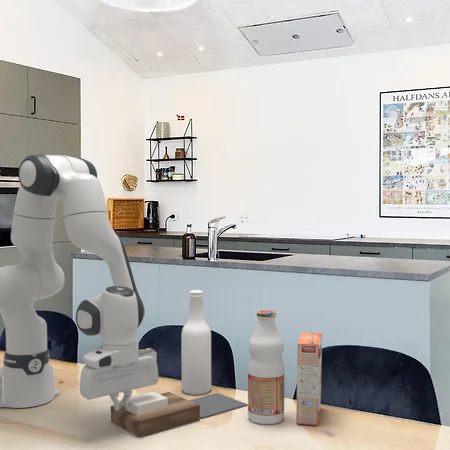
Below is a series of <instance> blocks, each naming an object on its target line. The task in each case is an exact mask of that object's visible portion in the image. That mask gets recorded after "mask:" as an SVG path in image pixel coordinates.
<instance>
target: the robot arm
mask: <svg viewBox="0 0 450 450" xmlns="http://www.w3.org/2000/svg"><path fill="white" fill-rule="evenodd" d="M18 180H19V183H20V185H19V186H18V191H17V194H16V198H15V201H14V207H13V213H12V216H13V217H12V224H11V230H10V240H11V243H12V244H13V246H15V247H16V248H17V249H18V250H19V252H20V256H21V258H20V259H21V262H20V263H16V264H11V265H10V264H7V265H4V266H0V314H1V317H2V320H3V322H4V323H3V324H4V328H5V330H4V331H5V349H6V350H5V351H4V354H3V355H4V356H3V362H2V364H3V366H1V368H0V408H15V409H17V408H19V409H21V408H22V409H23V408H31V407H37V406H41V405H45V404H47V403H49V402H51V401H52V400H53V399H54V398H55V397H56V396H58V395H59V394H60V390H59V389H58V388H56V383H55V372H54V371H55V370H54V367H53V366H52V365H51V364H49V362H50V351H49V348H48V325H47V322H46V320H45V318H43V317H41V316H40V315H38V314H37V312H36V310H35V305H34V301H39V300H43V299H44V300H45V299H48V298H51V297H52V296H54V295H57V294H58V293H59V292H61V291H62V290H63V288H64V286H65V280H66V277H65V273H64V271H63V268H62V267H61V266H60V265H59V264H58V263H57V261H56V259H55V255H54V250H53V240H54V239H53V237H54V236H53V235H54V228H55V227H54V226H55V219H56V211H57V210H56V208H57V203H58V200H60V201H61V202H62V203H61V204H62V210H63V220H64V228H65V233H66V235H67V239H68V240H69V241H70V242H71V243H72V244H73V245H74V247H77V248H78V249H80V250H82V251H84V252H88V253H90V254H93V255H95V256H98V258H101V259H102V260H103V261H104V262H105V263H106V264H107V266H108V269H109V273H110V276H111V280H112V286H108V287H106V288H104V290H103V291H102V292H101V293H100V294H98V295H95V296H93V297H89V298H86V299H83V300H82V301H81V302H80V303H79V304H78V307H77V309H76V312H75V322H76V323H75V324H76V326H77V328H78V329H79V331H80V332H81V333H83V335H86V336H87V337H89V336H90V337H96V336H101V338H102V341H101V345H100V346H98V347H97V348H95V349H93V350H91V351H89V352H87V353H86V354H84V355H83V356H82V362H83V364H84V366H83V367H82V369H81V372H80V378H79V379H80V380H79V393H80V396H82V397H83V399H86V400H93V399H98V398H102V397H107V396H109V398H110V399H111V401H112V403H113V405H114V410H116V411H119V410H123V409H127V408H128V401H129V399H130V397H132V396H133V395H132V394H133V390H139V389H142V388H146V387H147V388H148V387H151V386H155V385H157V383H158V381H159V369H158V364H157V363H158V362H157V360H158V359H157V357H158V356H157V352H156V350H155V349H153V348H152V347H148V348H145V349H143V348H142V349H139V348H140V347H139V346H140V345H139V337H138V328H139V327H140V326H141V324H142V322H143V321H144V317H145V306H144V303H143V300H142V298H141V297H140V294H139V291H138V289H137V285H136V283H135V278H134V276H133V272H132V268H131V265H130V264H131V263H130V261H129V258H128V255H127V254H128V253H127V250H126V248H125V244H124V242H123V240H122V238H121V237H120V236H119V235H118V234H117V233H116V232H115V230H114V229H113V227H112V225H111V223H110V220H109V214H108V207H107V203H106V198H105V196H104V192H103V191H104V190H103V188H102V186H101V182H100V180H99V179H98V171H97V169H96V166H95V165H94V164H93V163H92V162H91V161H90V160H87V159H84V158H82V157H73V156H69V155H64V154H56V155H53V154H43V153H42V154H41V153H39V154H38V153H37V154H36V153H35V154H31V155H28V156H26V157H25V158H24V159H22V161H21V162H20V165H19V168H18ZM120 393H123V397H122V399H121V400H118V398H119V394H120Z"/></svg>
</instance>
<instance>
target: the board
mask: <svg viewBox="0 0 450 450" xmlns="http://www.w3.org/2000/svg"><path fill="white" fill-rule="evenodd" d="M160 395H162V396H164V397H166V398H168V408H166V409H162V410H158V411H154V412H150V413H147V414H143V415H139V416H136V415H135V414H133V413H131V412H129V411H127V410H125V409H123V410H119V411H116V410H114V404H113V405H110V422H111V423H113V424H115V425H116V426H118V427H120V428H122V429H123V430H125V431H127V432H128V433H130V434H131V435H134V436H135V437H137V438H139V439H141V438H144V437H149V436H152V435H155V434H159V433H161V432H165V431H168V430H172V429H175V428H178V427H182V426H185V425H188V424H193V423H196V422H200V420H201V418H200V405H199V404H196V403H194V402H191V401H189V400H190V399H187V398H184V397H182V396H180V395H177V394H174V393H172V392H170V391H167V392H163V393H160Z"/></svg>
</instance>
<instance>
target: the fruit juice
mask: <svg viewBox="0 0 450 450" xmlns="http://www.w3.org/2000/svg"><path fill="white" fill-rule="evenodd" d="M276 316H277V313H276V311H275V310H270V309H262V310H261V309H260V310H257V312H256V318H257V322H256V326H255V329H254V330H253V331H254V332H253V334H252V336H251V337H250V339H249V342H248V350H249V351H248V352H249V355H250V358H249V360H248V364H247V404H248V406H247V416H248V419H249V420H250V421H251V422H253V423H255V424H258V425H259V424H260V425H275V424H279V423H281V422H283V420H284V419H285V363H284V359H283V353H284V350H285V344H284V340H283V338H282V337H281V335H280V333H279V330H278V328H277V324H276V321H275V319H276Z"/></svg>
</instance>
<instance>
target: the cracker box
mask: <svg viewBox="0 0 450 450" xmlns="http://www.w3.org/2000/svg"><path fill="white" fill-rule="evenodd" d="M322 345H323V335H322V333H321V332H309V331H308V332H305V331H304V332H303V331H302V332H301V333H300V336H299V339H298V342H297V350H296V351H297V357H296V358H297V361H296V362H297V363H296V366H297V367H296V368H297V369H296V370H297V371H296V373H297V374H296V415H295V416H296V420H295V422H296V424H297V425H305V426H307V425H308V426H316V427H317V426H319V422H320V416H321V415H320V414H321V406H322V405H321V404H322V401H321V399H322V397H321V396H322V365H323V364H322V360H323V359H322V358H323V357H322V356H323V354H322V353H323V352H322V351H323V346H322Z"/></svg>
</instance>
